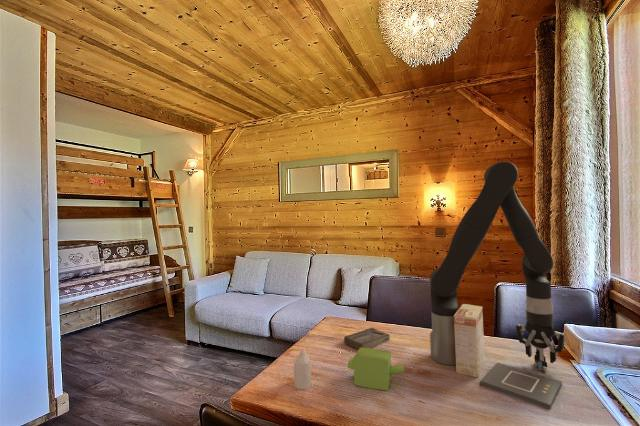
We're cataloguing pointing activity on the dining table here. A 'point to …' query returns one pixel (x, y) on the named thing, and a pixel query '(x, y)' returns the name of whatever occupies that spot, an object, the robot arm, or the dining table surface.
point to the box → (366, 338)
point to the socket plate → (522, 384)
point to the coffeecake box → (469, 340)
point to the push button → (540, 353)
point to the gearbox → (373, 368)
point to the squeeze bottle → (302, 371)
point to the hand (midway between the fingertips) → (540, 359)
